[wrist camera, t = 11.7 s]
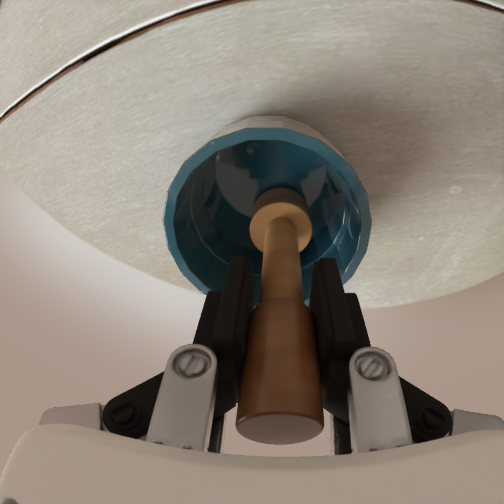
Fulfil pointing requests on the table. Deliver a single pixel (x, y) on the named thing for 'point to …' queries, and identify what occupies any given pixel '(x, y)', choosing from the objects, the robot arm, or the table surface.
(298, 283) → the wooden peg with base
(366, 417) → the robot arm
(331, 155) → the bowl
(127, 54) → the table surface
